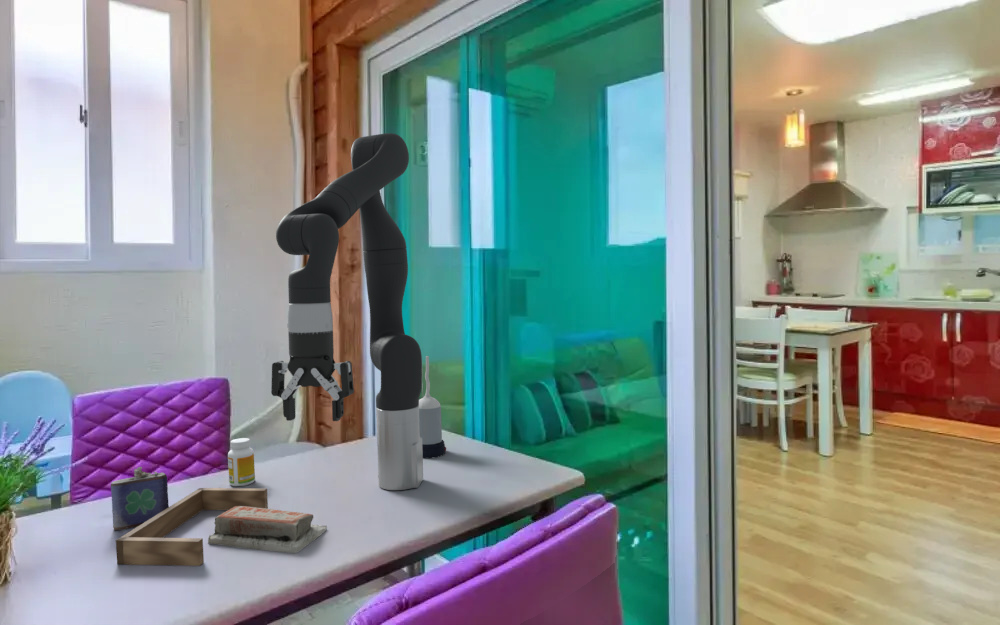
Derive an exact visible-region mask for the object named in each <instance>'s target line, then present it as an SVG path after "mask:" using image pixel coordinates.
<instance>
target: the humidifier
mask: <svg viewBox="0 0 1000 625" xmlns="http://www.w3.org/2000/svg"><path fill="white" fill-rule="evenodd" d="M423 372H424V371H423V370H422V377H423V376H424V378H425V384H426V386H425V387H426V389H425V394H424V389H423V386H424V385H423V383H422V389H421V393H422V394H424V395H423V396H422V398H419V428H420V437H421V438H422V451H423V459H433V458H432V457H435V458H439V457H442V456H444V455H445V454H446V451H447V447H446V444H445V441H444V440H443V439H442V438H443V433H442V429H443V428H442V427H443V426H442V407H441V405H442V404H441V403H440V402H439V401H438V399H436V398H435V397H432V396H431V393H430V390H431V382H430V378H429V375H430V356H429V355H428V356H427V355H426V356H425V374H423ZM443 454H444V455H443ZM441 455H442V456H441ZM438 456H439V457H438Z"/></svg>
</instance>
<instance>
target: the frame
mask: <svg viewBox="0 0 1000 625" xmlns="http://www.w3.org/2000/svg"><path fill="white" fill-rule="evenodd" d="M268 502H269V501H268V488H254V487H253V488H250V487H249V488H241V487H239V488H238V487H236V488H235V487H233V488H232V487H229V488H228V487H227V488H226V487H224V488H223V487H199V488H197V489H196V490H194V491H193V492H191V493H189V494H188V495H185V496H184V497H183V498H181V499H180V500H178V501H177V502H174V503H173V504H171V505H170V506H169V507H168V508H167V509H165V510H164V511H162V512H160V513H159V514H157V515H156V516H154V517H152V518H151V519H149V520H147V521H146V522H144V523H143V524H141V525H139V526H138V527H134V528H133V529H132V530H130V531H128V532H127V533H125V534H123V535H121V536H120V537H119V538H117V539H115V550H116V564H117V565H135V566H137V565H138V566H183V567H184V566H187V567H188V566H189V567H191V566H192V567H197V566H198V567H199V566H200V567H201V565H202V564H204V562H205V559H204V558H205V557H204V542H203V538H201V537H200V538H197V537H193V538H192V537H189V538H188V537H166V536H167V535H169V534H170V533H172V532H173V531H175V530H176V529H178V528H179V527H180V526H181V525H183V524H185V523H186V522H188V521H189V520H191V519H192V518H193V517H195V516H196V515H198V514H199V513H201V512H202V511H228V510H230V509H231V508H233V507H235V506H247V507H256V508H266V509H269V506H268V505H269V504H268Z"/></svg>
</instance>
